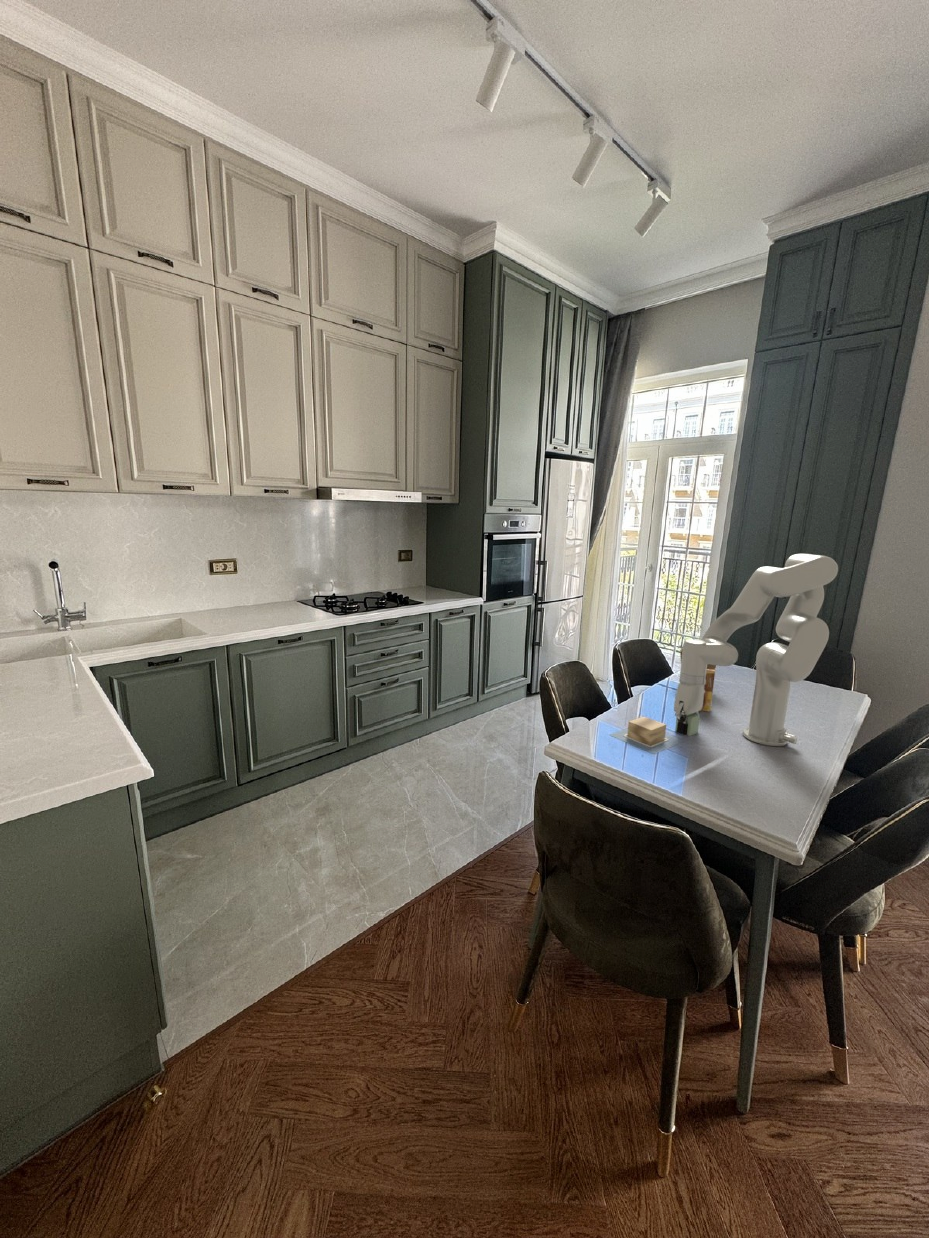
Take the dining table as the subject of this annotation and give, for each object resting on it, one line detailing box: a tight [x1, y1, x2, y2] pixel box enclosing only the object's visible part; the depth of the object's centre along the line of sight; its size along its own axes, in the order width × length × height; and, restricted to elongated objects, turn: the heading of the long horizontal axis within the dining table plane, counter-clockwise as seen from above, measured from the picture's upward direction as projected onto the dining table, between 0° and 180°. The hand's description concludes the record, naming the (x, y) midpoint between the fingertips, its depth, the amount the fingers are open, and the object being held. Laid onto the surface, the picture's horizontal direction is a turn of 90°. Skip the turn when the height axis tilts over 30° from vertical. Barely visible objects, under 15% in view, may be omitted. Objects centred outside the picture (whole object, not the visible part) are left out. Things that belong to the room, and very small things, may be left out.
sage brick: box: [674, 711, 701, 737], centre depth 165 cm, size 5×5×7 cm
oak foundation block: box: [627, 716, 667, 746], centre depth 158 cm, size 8×8×5 cm
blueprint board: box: [609, 727, 684, 755], centre depth 159 cm, size 16×16×1 cm
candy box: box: [700, 669, 716, 712], centre depth 189 cm, size 9×4×15 cm, turn 63°
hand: (686, 731), depth 165 cm, fingers closed on sage brick, 5 cm apart
